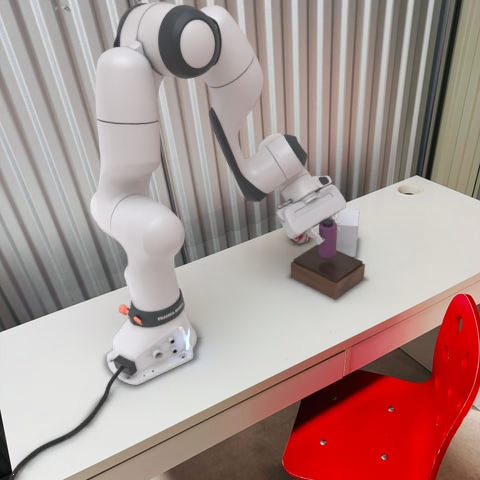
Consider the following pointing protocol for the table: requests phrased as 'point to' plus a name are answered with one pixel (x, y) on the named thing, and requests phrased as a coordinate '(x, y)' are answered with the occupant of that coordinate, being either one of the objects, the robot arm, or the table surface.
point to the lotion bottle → (328, 238)
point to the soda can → (301, 238)
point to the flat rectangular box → (328, 272)
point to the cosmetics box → (347, 231)
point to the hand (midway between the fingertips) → (329, 238)
